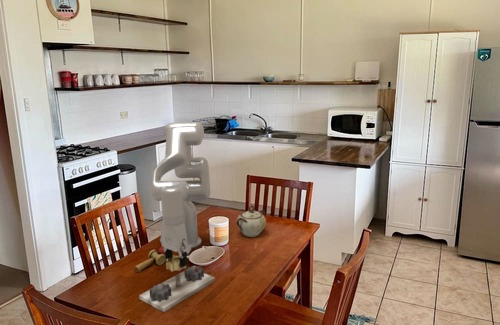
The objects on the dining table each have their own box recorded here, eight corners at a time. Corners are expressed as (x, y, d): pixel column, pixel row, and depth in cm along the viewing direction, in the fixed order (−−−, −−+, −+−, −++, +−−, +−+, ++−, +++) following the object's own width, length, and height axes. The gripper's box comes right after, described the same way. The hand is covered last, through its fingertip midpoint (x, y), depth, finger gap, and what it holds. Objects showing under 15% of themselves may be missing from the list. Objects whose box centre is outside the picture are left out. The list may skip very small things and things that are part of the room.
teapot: (254, 224, 215) (254, 198, 212) (275, 231, 205) (275, 204, 201) (227, 235, 202) (226, 207, 198) (248, 244, 191) (247, 214, 188)
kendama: (144, 278, 165) (176, 256, 178) (139, 264, 164) (172, 244, 177) (134, 275, 170) (166, 254, 183) (129, 262, 169) (162, 242, 182)
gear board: (139, 298, 148) (137, 283, 146) (190, 270, 167) (189, 256, 166) (163, 312, 139) (162, 295, 138) (215, 280, 159) (214, 266, 157)
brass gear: (162, 267, 150) (162, 260, 149) (177, 260, 156) (177, 253, 155) (175, 273, 145) (175, 265, 145) (190, 265, 151) (190, 258, 150)
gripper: (150, 217, 149) (153, 261, 153) (181, 227, 138) (184, 274, 142) (165, 211, 155) (169, 254, 158) (197, 221, 144) (199, 265, 148)
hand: (176, 263), depth 150 cm, fingers closed on brass gear, 7 cm apart
